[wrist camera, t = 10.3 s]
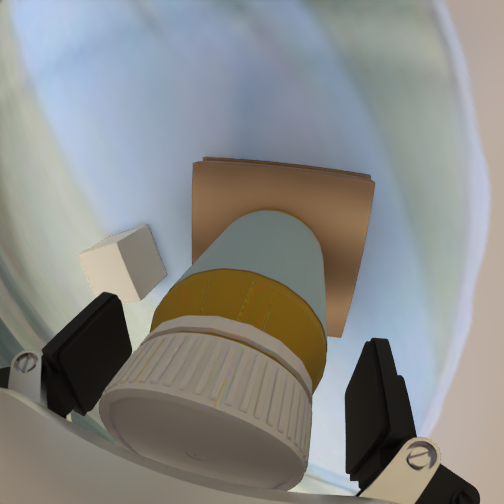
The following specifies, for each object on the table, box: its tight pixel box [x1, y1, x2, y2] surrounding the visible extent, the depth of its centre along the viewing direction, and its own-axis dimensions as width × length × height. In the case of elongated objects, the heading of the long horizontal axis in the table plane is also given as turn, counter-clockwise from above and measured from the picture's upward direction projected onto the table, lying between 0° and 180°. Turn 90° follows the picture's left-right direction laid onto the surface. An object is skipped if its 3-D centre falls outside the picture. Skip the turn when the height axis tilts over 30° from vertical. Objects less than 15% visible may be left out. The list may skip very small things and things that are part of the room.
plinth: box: [192, 157, 375, 338], centre depth 21 cm, size 12×12×3 cm
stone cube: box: [77, 224, 167, 304], centre depth 24 cm, size 5×5×5 cm
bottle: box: [99, 209, 327, 491], centre depth 13 cm, size 7×7×15 cm
